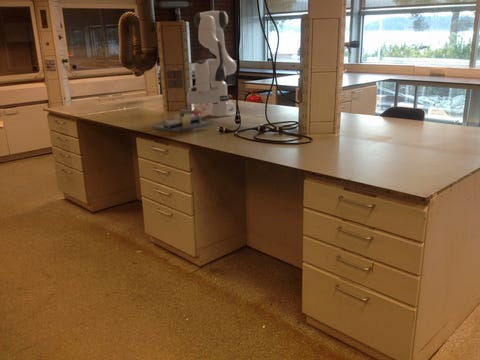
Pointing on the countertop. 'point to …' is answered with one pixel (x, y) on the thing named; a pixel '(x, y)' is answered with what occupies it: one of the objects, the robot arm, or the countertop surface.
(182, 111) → the lever
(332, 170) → the countertop surface
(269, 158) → the countertop surface
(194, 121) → the valve assembly
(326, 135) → the countertop surface
